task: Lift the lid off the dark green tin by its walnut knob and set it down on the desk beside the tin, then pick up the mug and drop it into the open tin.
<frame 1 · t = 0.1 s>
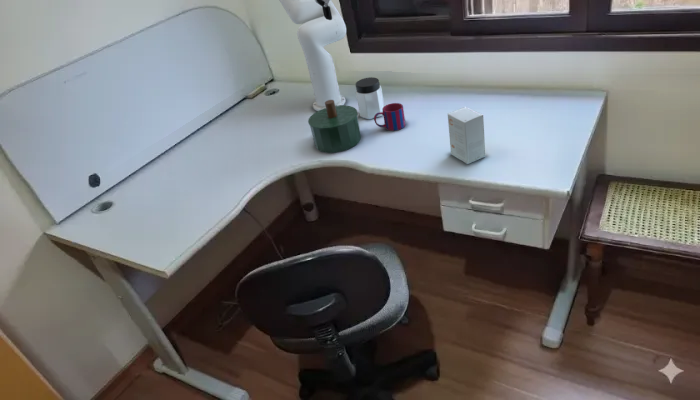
hand: (342, 14, 159), 37 cm above the table, tool pointing down, fingers open, 9 cm apart
mug: (390, 127, 172), on the table
small box: (468, 156, 148), on the table
tin: (338, 141, 170), on the table
jar: (372, 114, 183), on the table
tin lid: (333, 117, 166), point 8 cm above the table, touching tin
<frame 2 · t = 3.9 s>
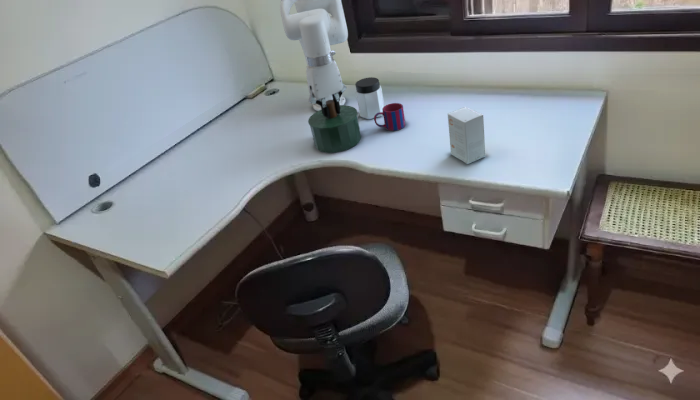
hand: (332, 114, 165), 10 cm above the table, tool pointing down, fingers closed on tin lid, 3 cm apart
tin lid: (333, 117, 166), point 9 cm above the table, touching gripper, tin
everything else where it was.
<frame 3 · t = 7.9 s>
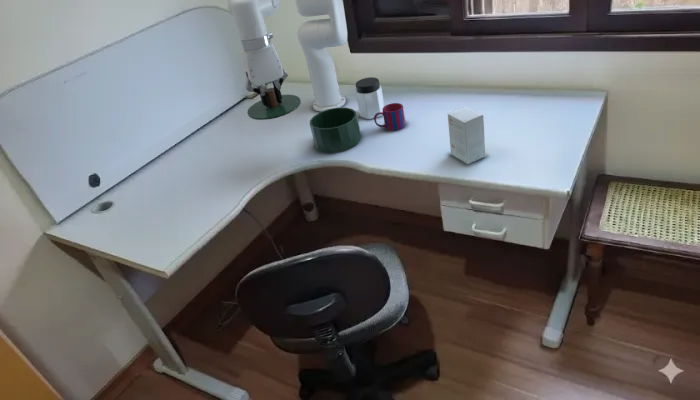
hand: (273, 103, 152), 21 cm above the table, tool pointing down, fingers closed on tin lid, 3 cm apart
tin lid: (274, 107, 152), point 19 cm above the table, touching gripper
everything else where it was.
when the fingers open (2 cm above the table, at t = 12.2 s): tin lid stays where it is, point 1 cm above the table.
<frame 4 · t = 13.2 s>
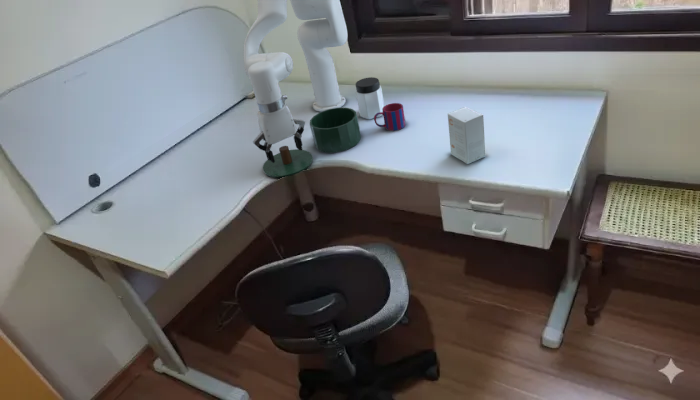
hand: (286, 154, 161), 4 cm above the table, tool pointing down, fingers open, 9 cm apart
tin lid: (288, 163, 163), point 1 cm above the table
everything else where it was.
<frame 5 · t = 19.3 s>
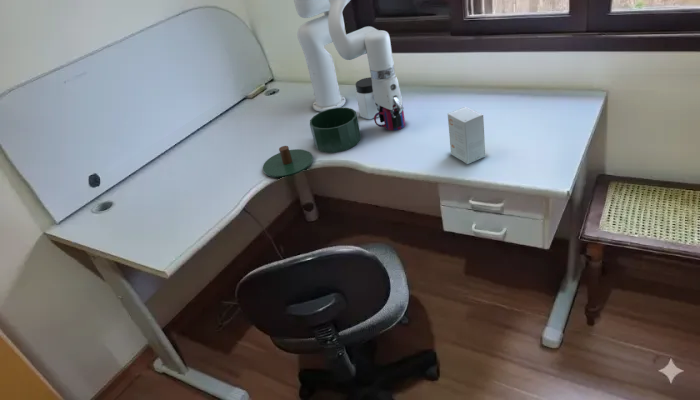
hand: (391, 123, 170), 2 cm above the table, tool pointing down, fingers closed on mug, 6 cm apart
mug: (390, 127, 172), on the table, touching gripper
everything else where it was.
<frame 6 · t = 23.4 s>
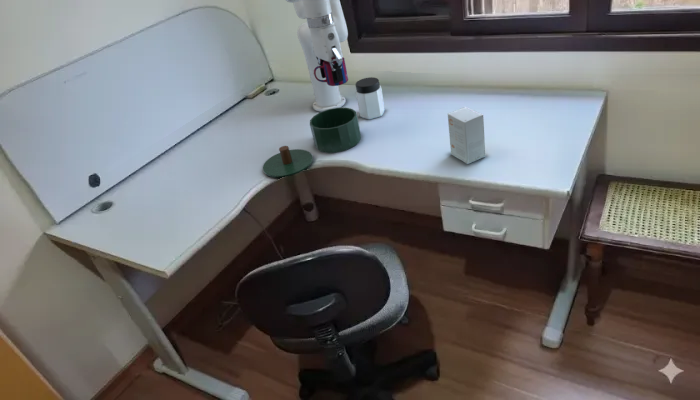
hand: (332, 78, 159), 21 cm above the table, tool pointing down, fingers closed on mug, 6 cm apart
mug: (332, 83, 160), point 19 cm above the table, touching gripper
everything else where it was.
when the fingers open (7 cm above the table, at t = 27.6 s): mug drops 5 cm, resting on tin.
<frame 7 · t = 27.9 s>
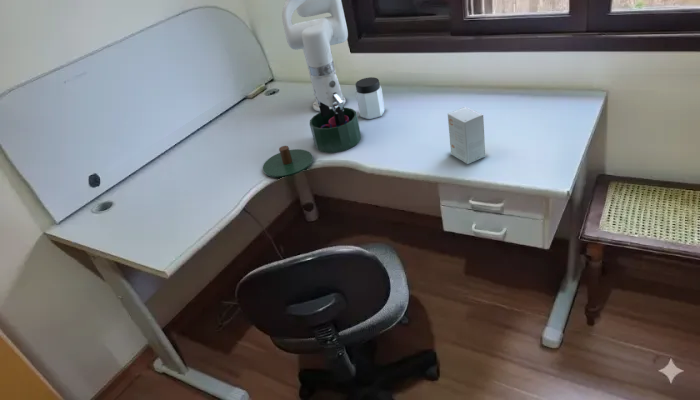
hand: (333, 119, 166), 8 cm above the table, tool pointing down, fingers open, 9 cm apart
mug: (337, 139, 170), resting on tin
everything else where it was.
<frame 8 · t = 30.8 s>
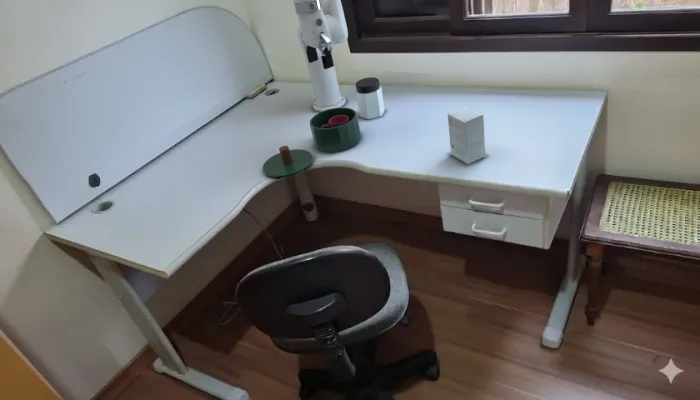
hand: (321, 64, 156), 26 cm above the table, tool pointing down, fingers open, 9 cm apart
nothing on the table moved.
at the end: tin lid inside the target area (0.1 cm from its centre), point 0.6 cm above the table; tin lid tilted 0°; mug inside the target area in the tin (0.4 cm from its centre), point 0.3 cm above the tin's base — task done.
